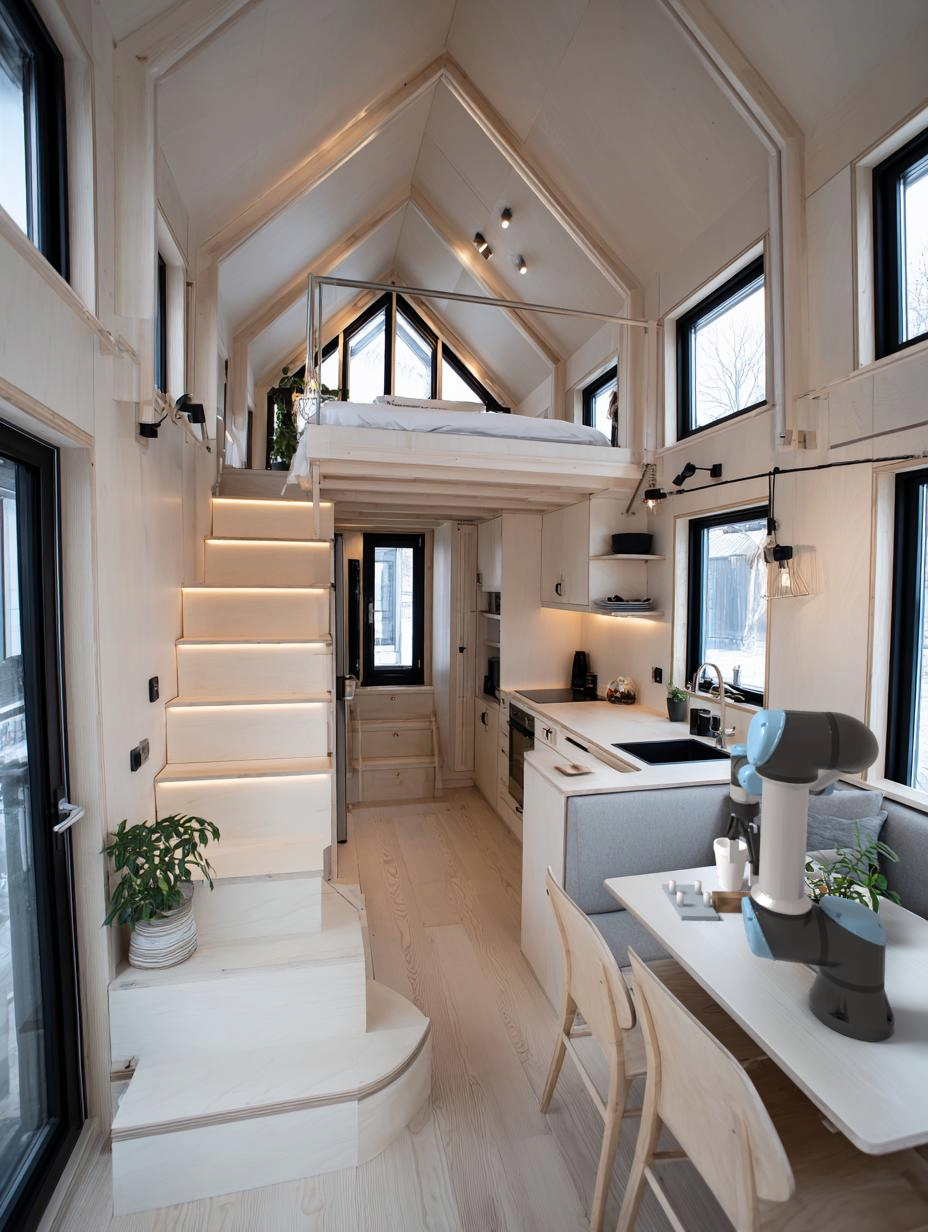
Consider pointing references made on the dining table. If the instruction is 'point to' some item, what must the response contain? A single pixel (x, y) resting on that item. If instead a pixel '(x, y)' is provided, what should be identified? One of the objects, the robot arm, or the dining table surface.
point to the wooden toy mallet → (728, 901)
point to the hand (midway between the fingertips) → (743, 873)
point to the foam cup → (730, 865)
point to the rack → (690, 901)
